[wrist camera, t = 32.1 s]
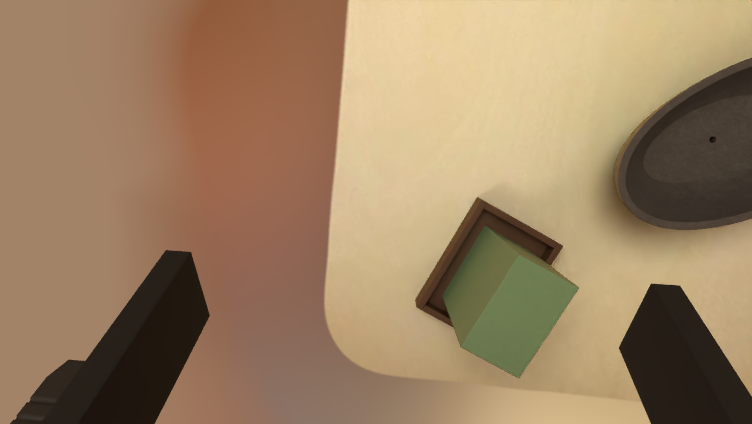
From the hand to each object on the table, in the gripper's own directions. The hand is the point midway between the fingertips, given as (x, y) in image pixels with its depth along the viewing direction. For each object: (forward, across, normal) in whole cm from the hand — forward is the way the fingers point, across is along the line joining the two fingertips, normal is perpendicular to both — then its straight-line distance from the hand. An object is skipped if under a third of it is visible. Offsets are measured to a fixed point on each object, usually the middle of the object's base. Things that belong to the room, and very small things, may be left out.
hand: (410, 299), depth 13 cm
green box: (+23, +8, -20) cm, 31 cm away
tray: (+24, +8, -20) cm, 32 cm away
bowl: (+31, +26, -8) cm, 41 cm away
